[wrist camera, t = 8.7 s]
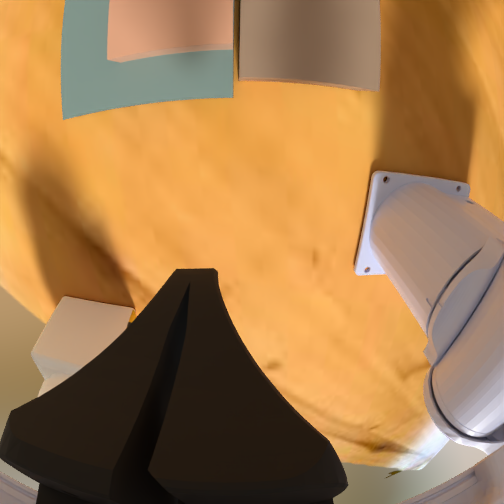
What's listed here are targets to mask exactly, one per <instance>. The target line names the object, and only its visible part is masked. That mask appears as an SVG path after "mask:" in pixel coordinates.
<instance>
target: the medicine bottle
mask: <svg viewBox="0 0 504 504" xmlns="http://www.w3.org/2000/svg"><path fill="white" fill-rule="evenodd" d="M135 318H136V311H135V309H134V308H131V307H125V306H118V305H112V304H106V303H100V302H95V301H89V300H84V299H79V298H73V297H68V296H64V297H63V298H62V299H61V301H60V302H59V304H58V305H57V307H56V309H55V310H54V312H53V314H52V315H51V317H50V319H49V321H48V322H47V324H46V326H45V328H44V330H43V331H42V333H41V335H40V337H39V338H38V340H37V342H36V344H35V346H34V348H33V350H32V352H31V356H32V358H33V360H34V362H35V364H36V365H37V367H38V369H39V371H40V372H41V374H42V376H43V377H44V379H45V381H44V382H43V384H42V387H41V389H40V392H39V395H38V397H39V396H41V395H43V394H44V393H46V392H48V391H49V390H51V389H52V388H54V387H56V386H57V385H59V384H60V383H62V382H63V381H65V380H66V379H68V378H69V377H70V376H72V375H73V374H75V373H76V372H77V371H79V370H80V369H81V368H82V367H84V366H85V365H86V364H87V363H89V362H90V361H91V360H93V359H94V358H95V357H96V356H98V355H99V354H100V353H101V352H102V351H104V350H105V349H106V348H107V347H108V346H109V345H110V344H111V343H112V342H113V341H114V340H115V339H116V338H117V337H118V336H119V335H120V334H121V333H122V332H123V331H124V330H125V329H126V328H127V327H128V326H129V325H130V324H131V323H132V322H133V321H134V320H135Z"/></svg>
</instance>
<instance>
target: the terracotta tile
mask: <svg viewBox="0 0 504 504" xmlns="http://www.w3.org/2000/svg"><path fill="white" fill-rule="evenodd" d="M209 50H233V0H110V2H109V15H108V37H107V60H110V61H115V62H120V63H121V62H126V61H131V60H136V59H142V58H147V57H153V56H160V55H167V54H175V53H184V52H195V51H209Z"/></svg>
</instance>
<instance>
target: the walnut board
mask: <svg viewBox="0 0 504 504" xmlns="http://www.w3.org/2000/svg"><path fill="white" fill-rule="evenodd" d="M380 65H381V23H380V0H240V15H239V81H272V82H290V83H303V84H313V85H322V86H330V87H338V88H345V89H351V90H359V91H379V89H380Z"/></svg>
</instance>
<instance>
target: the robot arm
mask: <svg viewBox="0 0 504 504" xmlns="http://www.w3.org/2000/svg"><path fill="white" fill-rule="evenodd" d="M385 176H387V180H386V181H385V182H383V179H384V177H385ZM457 187H458V188H457ZM456 188H457V190H456ZM469 193H470V186H469V184H467V183H465V182H459V181H453V180H447V179H441V178H435V177H428V176H421V175H413V174H405V173H397V172H388V171H375V172H374V173H373V174H372V177H371V183H370V189H369V195H368V201H367V207H366V213H365V218H364V223H363V228H362V233H361V238H360V243H359V248H358V252H357V257H356V261H355V266H354V271H355V273H356V274H357V275H376V274H386V275H387V276H388V278H389V279H390V280H391V282H392V283H393V285H394V286H395V288H396V289H397V291H398V292H399V294H400V295H401V297H402V298H403V300H404V301H405V303H406V304H407V306H408V307H409V309H410V310H411V312H412V314H413V315H414V317H415V318H416V320H417V321H418V323H419V325H420V326H421V328H422V329H423V331H424V333H425V334H426V336H427V338H428V344H427V346H426V348H425V349H424V351H423V352H424V354H425V356H426V357H427V359H428V361H429V363H430V365H431V367H430V368H429V370H428V372H427V373H426V376H425V379H424V385H423V394H424V400H425V404H426V407H427V410H428V412H429V414H430V417H431V419H432V420H433V422H434V423H435V425H436V426H437V427H438V428H439V430H440V431H441V432H442V433H443V434H444V435H446V436H447V437H448V438H449V439H451V440H453V441H454V442H457V443H459V444H461V445H466V446H472V447H475V448H478V449H480V450H482V451H484V452H485V453H486V454H488V456H487V457H486V458H484V459H483V460H481V461H480V462H478V463H477V464H475V465H474V466H473V467H471V468H469V469H468V470H466V471H464V472H463V473H461V474H459V475H457V476H455V477H454V478H452V479H450V480H448V481H447V482H445V483H443V484H441V485H439V486H437V487H435V488H433V489H430V490H428V491H426V492H424V493H422V494H419V495H417V496H415V497H412V498H410V499H408V500H405V501H402V502H400V503H397V504H504V222H503V221H502V220H500V219H499V218H498V217H496V216H495V215H493V214H492V213H491V212H489V211H488V210H486V209H485V208H483V207H482V206H481V205H479V204H478V203H476V202H475V201H473V200H472V199H470V198H469ZM366 267H368V269H366V270H365V268H366ZM0 458H1V459H2V460H3V461H4V462H6V463H7V464H9V465H10V466H12V467H13V468H15V469H16V470H18V471H20V472H21V473H23V474H25V475H26V476H28V477H30V478H31V479H33V480H35V481H37V482H39V483H40V484H39V489H38V491H36V490H33V489H32V488H30V487H28V486H26V485H24V484H22V483H20V482H18V481H16V480H14V479H13V478H11V477H9V476H7V475H5V474H4V473H2V472H0V504H334V503H333V497H335V496H337V495H338V494H340V493H341V492H343V491H344V490H345V489H346V488H347V486H348V482H347V477H346V474H345V471H344V468H343V466H342V463H341V461H340V459H339V457H338V455H337V453H336V452H335V450H334V448H333V446H332V445H331V443H330V441H329V440H328V439H327V438H326V437H324V436H323V435H322V434H321V433H320V432H319V431H317V430H316V429H315V428H314V427H313V426H312V425H311V424H310V423H309V422H308V421H306V420H305V419H304V418H303V417H302V416H301V415H300V414H299V413H298V412H297V411H296V410H295V409H294V408H293V407H292V406H291V405H290V404H289V402H288V401H287V400H286V399H285V398H284V397H283V396H282V395H281V394H280V392H279V391H278V390H277V389H276V388H275V386H274V385H273V384H272V383H271V382H270V380H269V379H268V378H267V377H266V375H265V374H264V373H263V372H262V370H261V369H260V367H259V366H258V365H257V363H256V362H255V360H254V359H253V357H252V356H251V354H250V353H249V351H248V350H247V348H246V346H245V345H244V343H243V341H242V340H241V338H240V336H239V334H238V332H237V330H236V328H235V326H234V325H233V323H232V320H231V318H230V316H229V314H228V311H227V309H226V306H225V304H224V301H223V298H222V295H221V292H220V288H219V284H218V271H216V270H215V269H214V268H209V269H176V270H175V271H174V272H173V273H172V275H171V276H170V277H169V279H168V280H167V281H166V282H165V284H164V285H163V286H162V288H161V289H160V290H159V291H158V293H157V294H156V295H155V296H154V297H153V299H152V300H151V301H150V302H149V303H148V305H147V306H146V307H145V308H144V310H143V311H142V312H141V313H140V314H139V315H138V316H137V317H136V318H135V320H134V321H133V322H132V323H131V324H130V325H129V326H128V327H127V328H126V329H125V330H124V331H123V332H122V333H121V334H120V335H119V336H118V337H117V338H116V339H115V340H114V341H113V342H112V343H111V344H110V345H109V346H108V347H107V348H106V349H105V350H104V351H102V352H101V353H100V354H99V355H98V356H96V357H95V358H94V359H93V360H91V361H90V362H89V363H87V364H86V365H85V366H84V367H82V368H81V369H80V370H79V371H77V372H76V373H75V374H73V375H72V376H70V377H69V378H68V379H66V380H65V381H63V382H62V383H60V384H59V385H57V386H56V387H54V388H52V389H51V390H49V391H48V392H46V393H44V394H43V395H41V396H39V397H37V398H35V399H34V400H31V401H30V402H28V403H26V404H24V405H22V406H20V407H18V408H16V409H14V410H12V411H11V413H10V415H9V418H8V420H7V423H6V426H5V429H4V432H3V435H2V438H1V441H0Z"/></svg>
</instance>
